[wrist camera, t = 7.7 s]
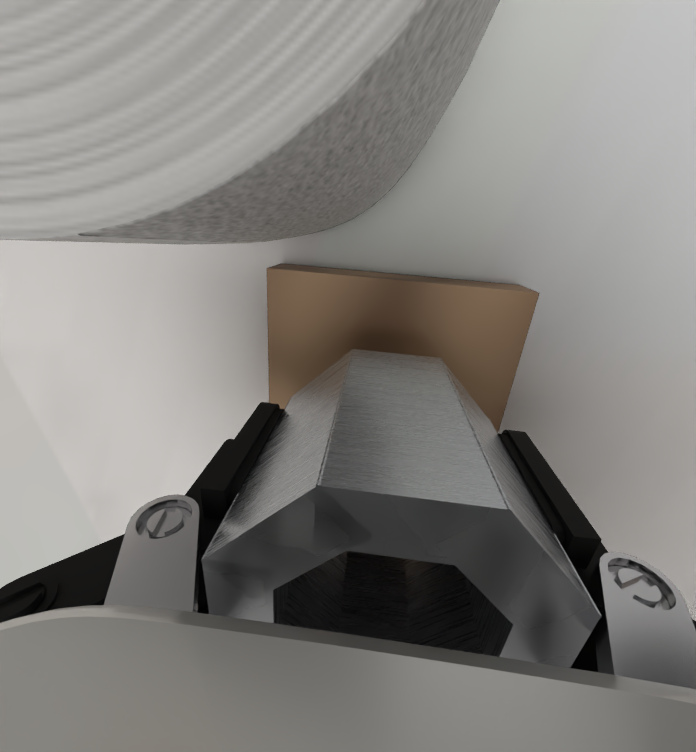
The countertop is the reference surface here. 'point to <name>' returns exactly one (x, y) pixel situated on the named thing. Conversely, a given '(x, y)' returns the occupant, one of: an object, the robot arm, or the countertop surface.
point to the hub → (397, 523)
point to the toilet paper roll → (217, 112)
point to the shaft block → (395, 326)
